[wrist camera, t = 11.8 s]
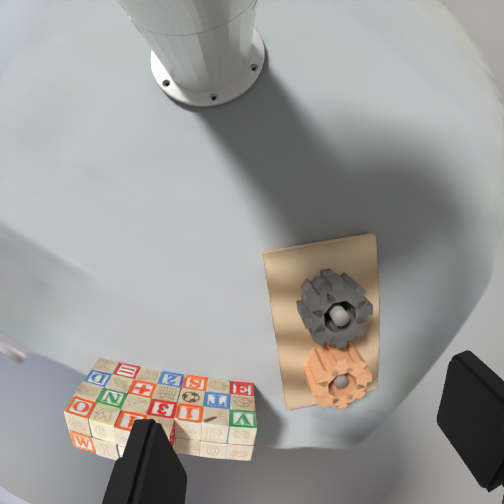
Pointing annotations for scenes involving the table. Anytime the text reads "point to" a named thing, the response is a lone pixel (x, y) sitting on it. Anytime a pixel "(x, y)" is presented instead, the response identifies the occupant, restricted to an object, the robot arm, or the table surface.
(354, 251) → the gear board
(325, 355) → the loose gear
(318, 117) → the table surface
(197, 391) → the stack of blocks
